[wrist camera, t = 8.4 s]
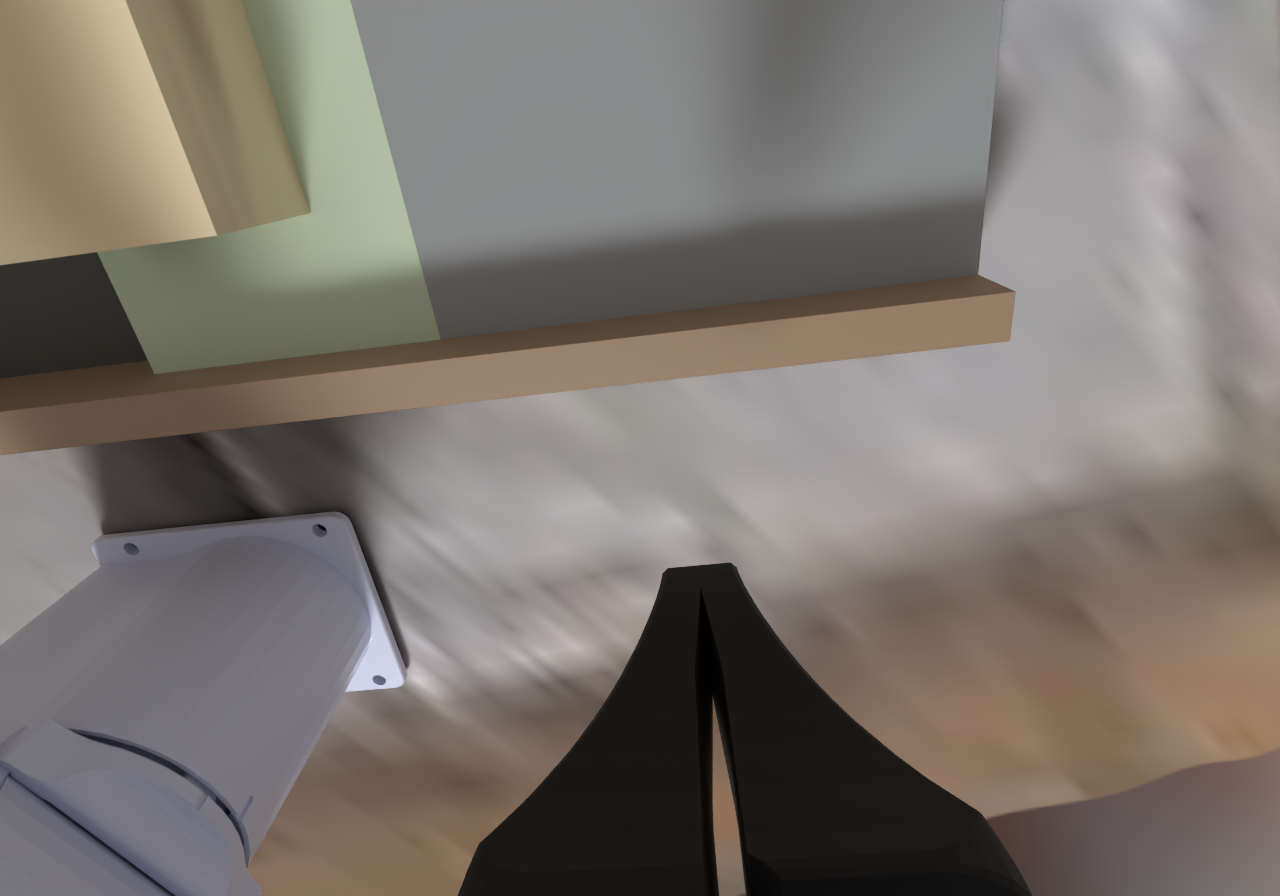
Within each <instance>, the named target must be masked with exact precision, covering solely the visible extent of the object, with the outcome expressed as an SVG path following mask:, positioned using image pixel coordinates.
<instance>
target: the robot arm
mask: <svg viewBox="0 0 1280 896" xmlns="http://www.w3.org/2000/svg"><path fill="white" fill-rule="evenodd" d="M317 524H321V525H323V526H324V527H325V528H326V529H327V531H325V530H322V529H320V528H319V527H318V525H317ZM133 544H134V545H136V546H137V547H135V546H134V545H133ZM92 551H93V553H94V555H95V557H96V558H97V560H98V562H99V564H100V565H101V567H100V568H98V569H97V570H96V571H95V572H93V573H92V574H91V575H90V576H88V577H87V578H86V579H84V580H83V581H82V582H81V583H79V584H78V585H77V586H76V587H74V588H73V589H72V590H70V591H69V592H68V593H67V594H65V595H64V596H63V597H62V598H60V599H59V600H58V601H56V602H55V603H54V604H53V605H51V606H50V607H49V608H48V609H46V610H45V611H44V612H42V613H41V614H40V615H39V616H37V617H36V618H35V619H34V620H32V621H31V622H30V623H28V624H27V625H26V626H25V627H23V628H22V629H21V630H20V631H18V632H17V633H16V634H14V635H13V636H12V637H11V638H9V639H8V640H7V641H6V642H4V643H3V644H2V645H0V896H260V895H261V893H262V891H263V889H262V887H261V886H260V885H259V884H258V883H257V882H256V881H255V880H254V879H253V878H252V876H251V875H250V874H249V872H248V870H247V867H248V865H249V864H250V862H251V860H252V858H253V856H254V855H255V853H256V851H257V849H258V847H259V846H260V844H261V842H262V840H263V838H264V837H265V835H266V833H267V831H268V829H269V828H270V826H271V824H272V822H273V820H274V819H275V817H276V815H277V813H278V811H279V810H280V808H281V806H282V804H283V802H284V801H285V799H286V797H287V795H288V793H289V792H290V790H291V788H292V786H293V784H294V783H295V781H296V779H297V777H298V775H299V774H300V772H301V770H302V768H303V766H304V765H305V763H306V761H307V759H308V757H309V756H310V754H311V752H312V750H313V748H314V747H315V745H316V743H317V741H318V739H319V737H320V736H321V734H322V732H323V730H324V728H325V727H326V725H327V723H328V721H329V719H330V718H331V716H332V714H333V712H334V710H335V709H336V707H337V705H338V703H339V701H340V700H341V698H342V696H343V694H344V692H347V691H360V690H372V689H385V688H396V687H400V686H401V685H403V684H404V681H405V679H406V677H407V671H406V668H405V665H404V663H403V660H402V657H401V655H400V652H399V649H398V646H397V644H396V641H395V638H394V636H393V633H392V630H391V628H390V625H389V622H388V620H387V617H386V614H385V612H384V609H383V606H382V604H381V601H380V598H379V596H378V593H377V590H376V588H375V585H374V582H373V580H372V577H371V574H370V571H369V569H368V566H367V563H366V561H365V558H364V555H363V553H362V550H361V547H360V545H359V542H358V539H357V537H356V534H355V531H354V529H353V526H352V523H351V521H350V520H349V518H348V517H347V516H346V515H344V514H342V513H340V512H324V513H314V514H304V515H295V516H285V517H275V518H265V519H255V520H245V521H235V522H226V523H216V524H206V525H196V526H186V527H176V528H166V529H157V530H147V531H137V532H127V533H117V534H107V535H103V536H101V537H99V538H98V539H97V540H95V541H94V542H93V543H92ZM378 675H381V676H383V677H384V678H383V677H380V676H378ZM712 695H713V698H712ZM713 700H714V705H715V710H716V715H717V720H718V725H719V730H720V735H721V740H722V745H723V750H724V755H725V759H726V764H727V769H728V774H729V779H730V784H731V789H732V794H733V799H734V804H735V810H736V816H737V822H738V829H739V837H740V846H741V854H742V863H743V872H744V881H745V889H746V896H1032V894H1031V892H1030V890H1029V888H1028V886H1027V884H1026V882H1025V880H1024V878H1023V876H1022V875H1021V873H1020V871H1019V870H1018V868H1017V866H1016V864H1015V863H1014V861H1013V860H1012V858H1011V857H1010V855H1009V854H1008V852H1007V851H1006V849H1005V847H1004V846H1003V844H1002V842H1001V841H1000V839H999V838H998V837H997V835H996V834H995V832H994V831H993V829H992V828H991V826H990V825H989V824H988V822H987V821H986V819H985V818H984V817H983V815H982V814H981V813H980V812H979V811H977V810H976V809H974V808H973V807H971V806H969V805H968V804H966V803H965V802H963V801H962V800H960V799H959V798H957V797H955V796H954V795H952V794H951V793H949V792H948V791H946V790H945V789H943V788H941V787H940V786H938V785H937V784H935V783H934V782H932V781H931V780H929V779H927V778H926V777H925V776H923V775H922V774H921V773H919V772H918V771H917V770H915V769H914V768H913V767H911V766H910V765H909V764H907V763H906V762H905V761H903V760H902V759H901V758H899V757H898V756H896V755H895V754H894V753H893V752H892V751H890V750H889V749H888V748H887V747H886V746H884V745H883V744H882V743H881V742H880V741H878V740H877V739H876V738H875V737H874V736H873V735H871V734H870V733H869V732H868V731H867V730H865V729H864V728H863V727H862V726H861V725H859V724H858V723H857V722H856V721H855V720H854V719H852V718H851V717H850V716H849V715H848V714H847V713H846V712H845V711H844V710H843V709H842V708H841V707H840V706H839V705H838V704H837V703H836V702H835V701H834V700H832V698H831V697H830V696H829V695H828V694H827V693H826V692H825V691H824V690H823V689H822V688H821V687H820V686H819V685H818V684H817V683H816V682H815V681H814V680H813V679H812V678H811V676H810V675H809V674H808V673H807V672H806V671H805V670H804V669H803V667H802V666H801V665H800V664H799V663H798V662H797V660H796V659H795V658H794V657H793V655H792V654H791V653H790V652H789V651H788V649H787V648H786V647H785V646H784V644H783V643H782V642H781V640H780V639H779V638H778V636H777V635H776V634H775V632H774V631H773V629H772V628H771V627H770V625H769V624H768V622H767V621H766V620H765V618H764V617H763V615H762V614H761V612H760V611H759V609H758V608H757V606H756V604H755V603H754V601H753V599H752V598H751V596H750V594H749V593H748V591H747V589H746V587H745V586H744V584H743V582H742V580H741V577H740V575H739V573H738V570H737V567H735V566H734V565H733V564H732V563H721V564H710V565H699V566H688V567H677V568H668V569H667V570H666V571H665V572H664V573H663V574H662V580H661V584H660V588H659V591H658V595H657V598H656V601H655V603H654V606H653V609H652V612H651V614H650V617H649V619H648V621H647V624H646V626H645V628H644V631H643V633H642V635H641V637H640V640H639V642H638V644H637V646H636V648H635V650H634V652H633V654H632V656H631V658H630V659H629V661H628V663H627V665H626V667H625V669H624V671H623V673H622V675H621V676H620V678H619V680H618V682H617V683H616V685H615V687H614V688H613V690H612V692H611V693H610V695H609V697H608V698H607V700H606V701H605V703H604V704H603V706H602V707H601V709H600V710H599V712H598V713H597V715H596V716H595V718H594V719H593V720H592V722H591V723H590V724H589V726H588V727H587V728H586V730H585V731H584V733H583V734H582V735H581V737H580V738H579V739H578V741H577V742H576V743H575V745H574V746H573V747H572V748H571V750H570V751H569V752H568V753H567V755H566V756H565V757H564V758H563V759H562V760H561V762H560V763H559V764H558V765H557V766H556V767H555V768H554V769H553V771H552V772H551V773H550V774H549V775H548V776H547V777H546V778H545V779H544V781H543V782H542V783H541V784H540V785H539V786H538V787H537V788H536V790H535V791H534V792H533V793H532V794H531V795H530V796H529V797H528V798H527V799H526V800H525V801H524V802H523V803H522V804H521V805H520V806H519V807H518V808H517V809H516V810H515V811H514V812H513V813H512V814H511V815H509V816H508V817H507V818H506V819H505V820H504V821H503V822H502V823H501V824H500V825H499V826H498V827H497V828H496V829H495V830H494V831H493V832H492V833H490V834H489V835H488V836H487V837H486V838H485V839H484V840H483V841H482V842H480V843H479V845H478V847H477V849H476V852H475V854H474V856H473V859H472V861H471V863H470V866H469V868H468V870H467V873H466V876H465V878H464V881H463V884H462V886H461V889H460V891H459V894H458V896H719V890H718V878H717V867H716V855H715V843H714V832H713V807H712V761H713Z"/></svg>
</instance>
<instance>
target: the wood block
mask: <svg viewBox="0 0 1280 896" xmlns="http://www.w3.org/2000/svg"><path fill="white" fill-rule="evenodd" d="M309 213H311V212H310V209H309V206H308V203H307V200H306V197H305V194H304V191H303V188H302V185H301V181H300V178H299V175H298V172H297V169H296V166H295V163H294V160H293V157H292V154H291V151H290V148H289V145H288V142H287V139H286V135H285V132H284V129H283V126H282V123H281V120H280V117H279V114H278V111H277V108H276V105H275V102H274V99H273V96H272V93H271V89H270V86H269V83H268V80H267V77H266V74H265V71H264V68H263V65H262V62H261V59H260V56H259V53H258V50H257V47H256V43H255V40H254V37H253V34H252V31H251V28H250V25H249V22H248V19H247V16H246V13H245V10H244V7H243V4H242V1H241V0H0V265H6V264H13V263H20V262H28V261H35V260H42V259H50V258H57V257H64V256H72V255H79V254H86V253H94V252H101V251H109V250H116V249H123V248H131V247H138V246H145V245H153V244H160V243H167V242H175V241H182V240H189V239H197V238H204V237H211V236H218V235H222V234H226V233H230V232H235V231H239V230H243V229H247V228H251V227H255V226H259V225H264V224H268V223H272V222H276V221H280V220H284V219H289V218H293V217H297V216H301V215H305V214H309Z"/></svg>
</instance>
